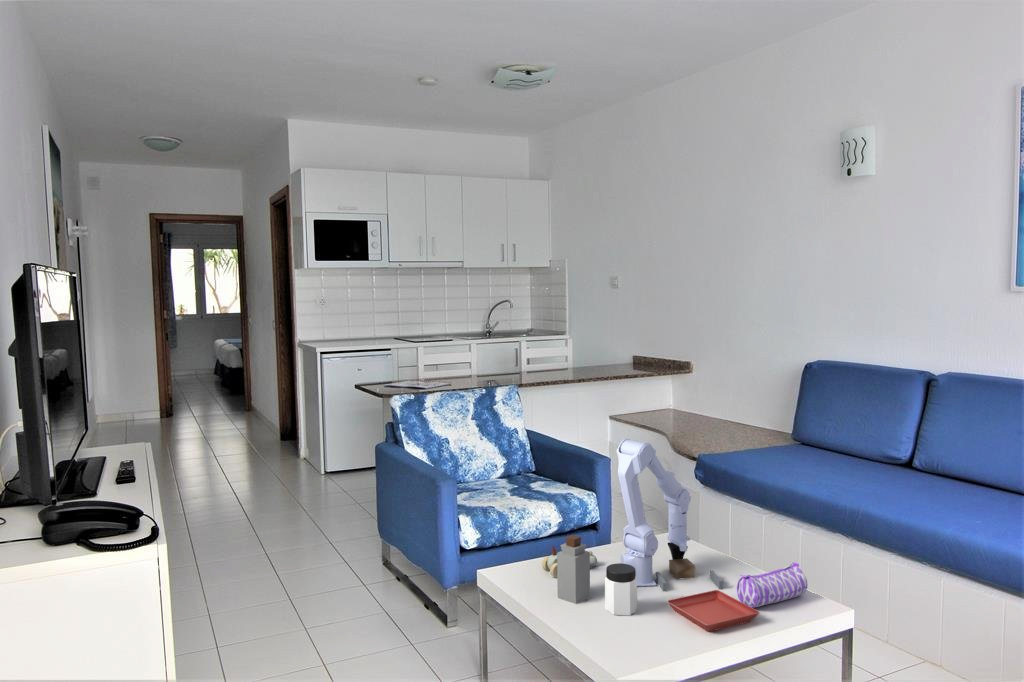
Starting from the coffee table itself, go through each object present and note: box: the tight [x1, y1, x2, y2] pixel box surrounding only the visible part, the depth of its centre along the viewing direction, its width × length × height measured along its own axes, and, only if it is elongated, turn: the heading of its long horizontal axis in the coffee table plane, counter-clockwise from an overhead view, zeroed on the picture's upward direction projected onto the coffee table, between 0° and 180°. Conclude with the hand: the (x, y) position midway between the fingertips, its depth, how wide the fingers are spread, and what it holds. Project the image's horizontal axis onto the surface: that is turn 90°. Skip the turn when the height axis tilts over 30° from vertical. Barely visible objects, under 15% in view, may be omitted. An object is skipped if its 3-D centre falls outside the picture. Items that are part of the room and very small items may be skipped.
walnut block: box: [668, 558, 696, 580], centre depth 243 cm, size 6×6×4 cm
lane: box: [655, 569, 723, 592], centre depth 235 cm, size 18×9×2 cm, turn 93°
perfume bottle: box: [556, 534, 591, 605], centre depth 226 cm, size 7×7×18 cm
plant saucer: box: [666, 589, 760, 632], centre depth 212 cm, size 18×18×3 cm
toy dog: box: [541, 546, 598, 579], centre depth 249 cm, size 12×19×9 cm, turn 136°
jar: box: [604, 562, 638, 617], centre depth 217 cm, size 9×8×12 cm
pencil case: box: [736, 561, 808, 609], centre depth 222 cm, size 22×9×10 cm, turn 121°
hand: (677, 565), depth 248 cm, fingers closed
